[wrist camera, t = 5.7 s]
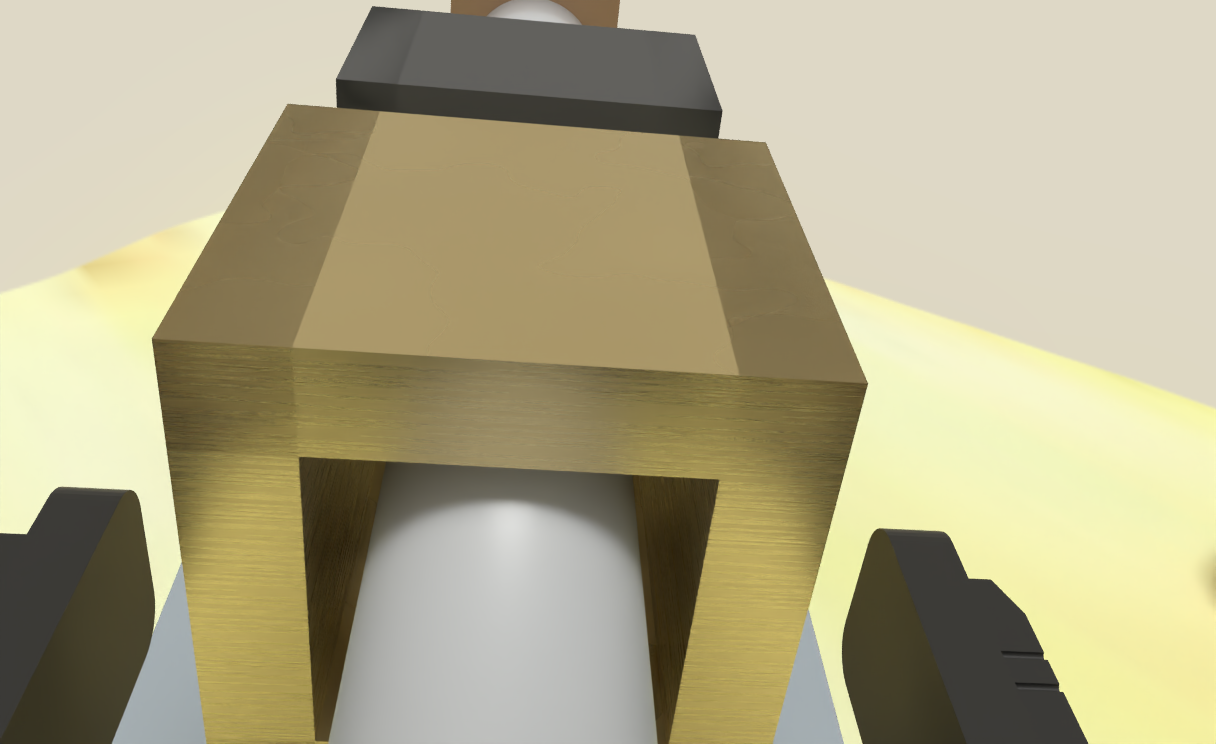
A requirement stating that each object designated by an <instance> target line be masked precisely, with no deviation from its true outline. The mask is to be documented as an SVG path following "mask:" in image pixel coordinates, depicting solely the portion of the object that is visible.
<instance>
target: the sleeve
mask: <svg viewBox="0 0 1216 744" xmlns="http://www.w3.org/2000/svg"><path fill="white" fill-rule="evenodd" d="M152 343H153V351H154V358H155V366H156V373H157V380H158V388H159V395H160V403H161V410H162V418H163V425H164V432H165V440H166V447H167V455H168V462H169V470H170V477H171V484H172V492H173V499H174V507H175V514H176V521H177V529H178V536H179V544H180V551H181V559H182V566H183V573H184V581H185V588H186V596H187V603H188V611H189V618H190V625H191V633H192V640H193V648H194V655H195V662H196V670H197V677H198V685H199V692H200V700H201V707H202V714H203V722H204V729H205V737H206V744H328V742H329V737H330V732H331V727H332V723H333V718H334V713H335V708H336V703H337V698H338V693H339V689H340V684H341V679H342V674H343V669H344V664H345V659H346V654H347V650H348V645H349V640H350V635H351V630H352V625H353V620H354V615H355V611H356V606H357V601H358V596H359V591H360V586H361V581H362V576H363V572H364V567H365V562H366V557H367V552H368V547H369V542H370V537H371V533H372V528H373V523H374V518H375V513H376V508H377V503H378V499H379V494H380V489H381V484H382V479H383V474H384V469H385V464H386V461H388V462H406V463H425V464H443V465H461V466H480V467H498V468H517V469H535V470H553V471H572V472H590V473H608V474H627V475H632V477H633V487H634V498H635V509H636V519H637V530H638V540H639V551H640V562H641V572H642V583H643V594H644V604H645V615H646V626H647V636H648V647H649V657H650V668H651V679H652V689H653V700H654V711H655V721H656V732H657V743H658V744H773V740H774V737H775V733H776V729H777V725H778V721H779V718H780V714H781V710H782V706H783V703H784V699H785V695H786V691H787V687H788V684H789V680H790V676H791V672H792V669H793V665H794V661H795V657H796V653H797V650H798V646H799V642H800V638H801V635H802V631H803V627H804V623H805V619H806V616H807V612H808V608H809V604H810V601H811V597H812V593H813V589H814V585H815V582H816V578H817V574H818V570H819V567H820V563H821V559H822V555H823V551H824V548H825V544H826V540H827V536H828V533H829V529H830V525H831V521H832V517H833V514H834V510H835V506H836V502H837V499H838V495H839V491H840V487H841V483H842V480H843V476H844V472H845V468H846V465H847V461H848V457H849V453H850V450H851V446H852V442H853V438H854V434H855V431H856V427H857V423H858V419H859V416H860V412H861V408H862V404H863V400H864V397H865V393H866V389H867V385H868V383H867V380H866V378H865V375H864V373H863V371H862V368H861V366H860V364H859V361H858V359H857V357H856V354H855V352H854V349H853V347H852V345H851V342H850V340H849V338H848V335H847V333H846V331H845V328H844V326H843V324H842V321H841V319H840V316H839V314H838V312H837V309H836V307H835V305H834V302H833V300H832V298H831V295H830V293H829V290H828V288H827V286H826V283H825V281H824V279H823V276H822V274H821V272H820V270H819V267H818V265H817V262H816V260H815V257H814V255H813V253H812V250H811V248H810V246H809V243H808V241H807V239H806V236H805V234H804V232H803V229H802V227H801V225H800V222H799V220H798V217H797V215H796V213H795V210H794V208H793V206H792V203H791V201H790V198H789V196H788V194H787V191H786V189H785V187H784V184H783V182H782V180H781V177H780V175H779V173H778V170H777V168H776V165H775V163H774V161H773V159H772V156H771V154H770V151H769V149H768V147H767V144H766V143H765V142H753V141H740V140H729V139H716V138H704V137H692V136H679V135H667V134H654V133H642V132H630V131H617V130H605V129H593V128H580V127H568V126H555V125H543V124H531V123H518V122H506V121H494V120H481V119H469V118H457V117H444V116H432V115H419V114H407V113H395V112H382V111H370V110H358V109H345V108H333V107H320V106H308V105H296V104H287V106H286V108H285V110H284V111H283V113H282V115H281V116H280V118H279V120H278V122H277V123H276V125H275V127H274V128H273V130H272V132H271V134H270V136H269V137H268V139H267V140H266V142H265V144H264V146H263V147H262V149H261V151H260V153H259V154H258V156H257V158H256V160H255V161H254V163H253V165H252V166H251V168H250V170H249V172H248V173H247V175H246V177H245V179H244V180H243V182H242V184H241V186H240V187H239V189H238V191H237V193H236V194H235V196H234V198H233V199H232V201H231V203H230V205H229V206H228V208H227V210H226V211H225V213H224V215H223V217H222V218H221V220H220V222H219V224H218V225H217V227H216V229H215V230H214V232H213V234H212V236H211V237H210V239H209V241H208V243H207V244H206V246H205V248H204V249H203V251H202V253H201V255H200V256H199V258H198V260H197V262H196V263H195V265H194V267H193V268H192V270H191V272H190V274H189V275H188V277H187V279H186V281H185V282H184V284H183V286H182V288H181V289H180V291H179V293H178V294H177V296H176V298H175V300H174V301H173V303H172V305H171V307H170V308H169V310H168V312H167V313H166V315H165V317H164V319H163V320H162V322H161V324H160V326H159V327H158V329H157V331H156V332H155V334H154V336H153V338H152Z"/></svg>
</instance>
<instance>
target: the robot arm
mask: <svg viewBox="0 0 1216 744" xmlns="http://www.w3.org/2000/svg"><path fill="white" fill-rule="evenodd" d="M154 618H155V596H154V589H153V582H152V576H151V570H150V563H149V557H148V551H147V544H146V538H145V532H144V525H143V519H142V513H141V507H140V502H139V499H138V497H137V495H136V493H135V492H134V491H132V490H117V489H97V488H76V487H58V488H56V489H55V490H54V491H53V492H52V493H51V494H50V496H49V497H48V499H47V501H46V502H45V504H44V506H43V508H42V509H41V511H40V513H39V514H38V516H37V518H36V520H35V521H34V523H33V525H32V526H31V528H30V530H29V531H28V533H27V534H5V533H0V744H112V742H113V739H114V737H115V734H116V732H117V729H118V727H119V724H120V722H121V719H122V717H123V714H124V712H125V709H126V707H127V704H128V702H129V699H130V697H131V694H132V692H133V689H134V686H135V684H136V681H137V679H138V676H139V674H140V671H141V669H142V666H143V664H144V661H145V659H146V656H147V653H148V650H149V647H150V643H151V638H152V633H153V627H154ZM1043 654H1044V652H1043V650H1042V647H1041V645H1040V643H1039V641H1038V639H1037V637H1036V635H1035V633H1034V631H1033V629H1032V627H1031V625H1030V623H1029V621H1028V619H1027V617H1026V615H1025V613H1024V612H1023V611H1022V610H1021V609H1020V608H1019V607H1018V606H1017V605H1016V604H1015V603H1014V602H1013V601H1012V600H1011V599H1010V598H1009V597H1008V596H1007V595H1006V594H1005V593H1004V592H1003V591H1002V590H1001V589H1000V588H999V587H998V586H997V585H996V584H995V583H994V582H993V581H992V580H987V579H968V576H967V574H966V572H965V570H964V567H963V565H962V563H961V561H960V558H959V556H958V554H957V552H956V549H955V547H954V545H953V543H952V541H951V539H950V537H949V536H948V535H947V534H946V533H945V532H942V531H923V530H902V529H882V528H880V529H877V530H875V531H874V533H873V534H872V536H871V538H870V541H869V544H868V547H867V550H866V554H865V557H864V561H863V564H862V568H861V571H860V574H859V578H858V581H857V585H856V588H855V592H854V595H853V598H852V602H851V605H850V609H849V612H848V616H847V619H846V623H845V627H844V632H843V641H842V664H843V673H844V679H845V683H846V687H847V690H848V694H849V697H850V701H851V704H852V708H853V711H854V715H855V718H856V722H857V725H858V729H859V732H860V736H861V740H862V743H863V744H1088V742H1087V740H1086V738H1085V736H1084V734H1083V732H1082V730H1081V728H1080V725H1079V723H1078V721H1077V719H1076V717H1075V715H1074V713H1073V711H1072V709H1071V707H1070V705H1069V703H1068V701H1067V699H1066V697H1065V695H1064V693H1063V692H1060V691H1059V682H1058V680H1057V678H1056V676H1055V674H1054V672H1053V670H1052V668H1051V666H1050V664H1049V662H1048V660H1044V657H1043Z"/></svg>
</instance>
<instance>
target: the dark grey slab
mask: <svg viewBox="0 0 1216 744" xmlns="http://www.w3.org/2000/svg"><path fill="white" fill-rule="evenodd" d="M336 95H337V108H345V109H358V110H370V111H382V112H395V113H407V114H419V115H432V116H444V117H457V118H469V119H481V120H494V121H506V122H518V123H531V124H543V125H555V126H568V127H580V128H593V129H605V130H617V131H630V132H642V133H654V134H667V135H679V136H692V137H704V138H716V139H718V136H719V130H720V123H721V117H722V109H721V106H720V103H719V100H718V97H717V94H716V92H715V89H714V86H713V83H712V81H711V78H710V75H709V72H708V69H707V67H706V64H705V61H704V58H703V56H702V53H701V50H700V47H699V44H698V42H697V39H696V36H695V35H690V34H679V33H667V32H656V31H645V30H644V31H643V30H634V29H623V28H611V27H600V26H589V25H577V24H566V23H555V22H544V21H532V20H521V19H510V18H499V17H487V16H476V15H465V14H453V13H442V12H430V11H420V10H408V9H397V8H385V7H375V6H372V8H371V10H370V12H369V14H368V16H367V18H366V20H365V22H364V24H363V26H362V28H361V30H360V32H359V34H358V36H357V38H356V40H355V42H354V44H353V46H352V48H351V50H350V52H349V54H348V56H347V58H346V60H345V62H344V64H343V66H342V68H341V70H340V72H339V74H338V76H337V78H336Z"/></svg>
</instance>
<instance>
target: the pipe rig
mask: <svg viewBox="0 0 1216 744" xmlns="http://www.w3.org/2000/svg"><path fill="white" fill-rule="evenodd" d="M619 4H620V0H451V13H453V14H465V15H476V16H487V17H499V18H510V19H521V20H532V21H544V22H555V23H566V24H577V25H589V26H600V27H611V28H617V22H618V13H619ZM112 744H206V737H205V729H204V722H203V714H202V707H201V700H200V692H199V685H198V677H197V670H196V662H195V655H194V648H193V640H192V633H191V625H190V618H189V611H188V603H187V596H186V588H185V581H184V573H183V566H182V563H181V565H180V568H179V570H178V573H177V575H176V578H175V580H174V583H173V585H172V588H171V590H170V593H169V595H168V598H167V600H166V603H165V605H164V607H163V610H162V612H161V615H160V617H159V620H158V622H157V625H156V627H155V630H154V632H153V635H152V638H151V643H150V647H149V650H148V653H147V656H146V659H145V661H144V664H143V666H142V669H141V671H140V674H139V676H138V679H137V681H136V684H135V686H134V689H133V692H132V694H131V697H130V699H129V702H128V704H127V707H126V709H125V712H124V714H123V717H122V719H121V722H120V724H119V727H118V729H117V732H116V734H115V737H114V739H113V742H112ZM328 744H658V743H657V732H656V721H655V711H654V700H653V689H652V679H651V668H650V657H649V647H648V636H647V626H646V615H645V604H644V594H643V583H642V572H641V562H640V551H639V540H638V530H637V519H636V509H635V498H634V487H633V477H632V475H627V474H608V473H590V472H572V471H553V470H535V469H517V468H498V467H480V466H461V465H443V464H425V463H406V462H388V461H386V464H385V469H384V474H383V479H382V484H381V489H380V494H379V499H378V503H377V508H376V513H375V518H374V523H373V528H372V533H371V537H370V542H369V547H368V552H367V557H366V562H365V567H364V572H363V576H362V581H361V586H360V591H359V596H358V601H357V606H356V611H355V615H354V620H353V625H352V630H351V635H350V640H349V645H348V650H347V654H346V659H345V664H344V669H343V674H342V679H341V684H340V689H339V693H338V698H337V703H336V708H335V713H334V718H333V723H332V727H331V732H330V737H329V742H328ZM773 744H844V742H843V739H842V735H841V731H840V727H839V723H838V720H837V716H836V712H835V708H834V705H833V701H832V697H831V693H830V689H829V686H828V682H827V678H826V674H825V670H824V667H823V663H822V659H821V655H820V651H819V648H818V644H817V640H816V636H815V632H814V629H813V625H812V621H811V617H810V613H809V610H808V612H807V616H806V619H805V623H804V627H803V631H802V635H801V638H800V642H799V646H798V650H797V653H796V657H795V661H794V665H793V669H792V672H791V676H790V680H789V684H788V687H787V691H786V695H785V699H784V703H783V706H782V710H781V714H780V718H779V721H778V725H777V729H776V733H775V737H774V740H773Z"/></svg>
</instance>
